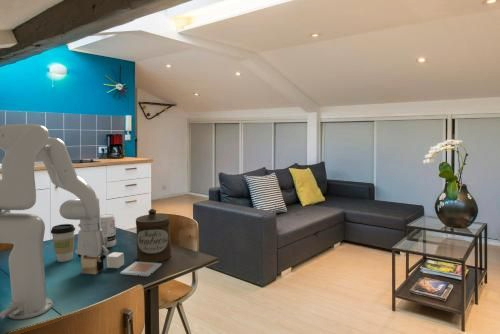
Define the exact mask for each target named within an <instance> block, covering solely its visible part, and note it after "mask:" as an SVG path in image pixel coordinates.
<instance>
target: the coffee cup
mask: <svg viewBox="0 0 500 334" xmlns="http://www.w3.org/2000/svg"><path fill="white" fill-rule="evenodd" d="M75 231H76V227H75V226H74V224H73V223H71V224H70V223H62V224H57V225H53V226H52V227H51V229H50V233H51V236H52V243H53V248H54V252H55V255H56V261H57V262H68V261H71V260H73V259H74V258H73V256H74V251H75V250H74V246H75Z"/></svg>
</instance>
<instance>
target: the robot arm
mask: <svg viewBox="0 0 500 334" xmlns="http://www.w3.org/2000/svg"><path fill="white" fill-rule="evenodd" d="M0 150H2V151H3V152H5V154H4V157H3V158H2V162H1V178H0V244H11V245H13V247H12V249H11V251H10V254H9V256H8V269H9V280H10V291H11V301H10V302H8V303H9V306H8V307H7V308H6V309H4V310H2V311H0V318H1V319H5V318H7V317H8V318H10V319H13V320H26V319H30V318H31V319H32V318H34V317H39V316H40V315H43V314H45V313H47V312H48V311H49V310H50V309H51V308H52V307H53V301H52V299H50V298H48V297H47V288H46V275H45V274H46V273H45V261H44V260H45V259H44V240H45V239H44V238H45V233H46V231H45V230H46V224H45V222H44V220H43V219H42V218H41V217H40V216H38V215H35V214H33V213H20V212H15V213H14V212H11V211H25V210H29V209H31V208H33V207H34V206H35V204H36V202H37V190H36V180H35V179H36V177H35V162H42V163H43V165H44V167H45V169H46V172H47V173H48V176H49V178H50V181H51V183H52V184H53V185H55V186H56V187H58V188H60V189H62V190H65V191H66V192H69V193H71V194H73V195H75V197H76V198H77V199H67V200H65V201H63V202H62V204H60V206H59V209H58V210H59V214H60V216H61V217H62V218H63V219H66V220H74V221H75V220H76V221H78V220H79V223H78V225H77V226H78V227H79V228H80V230H79V231H78V234H77V247H76V248H75V250H74V253H75V254H76V255H77V257H79V258H80V261H81V259H82V258H84V257H86V256H96V257H97V259H98V262H97V269H98V271H100V272H101V271H103V270H104V269H105V262H104V263H103V260H105V259H107V256H108V255H109V254H111V252H110V250H109V249H108V248H106V247H105V240H104V235H103V231H102V229H101V224H100V215H101V209H100V208H101V207H100V198H99V197H98V196H97V195H96V192H95V190H94V189H93V187H92V186H91V185H90V184H89V183H87V182H86V180H84V179H83V178H82V177H81V176H80V175H78V174H77V172H76V169H75V167H74V165H73V161H72V158H71V155H70V154H69V150H68V148H67V145H66V143H65V142H64V141H63V140H62V139H60V138H58V137H50V132H49V130H48V128H47V127H45V126H44V125H41V124H37V123H24V124H22V123H21V124H19V123H17V124H16V123H15V124H12V123H11V124H2V125H1V126H0ZM100 257H101V258H100ZM103 268H104V269H103ZM102 269H103V270H102Z"/></svg>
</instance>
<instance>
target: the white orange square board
mask: <svg viewBox="0 0 500 334" xmlns="http://www.w3.org/2000/svg"><path fill="white" fill-rule="evenodd" d="M162 264H163V263H162V262H161V263H159V262H142V261H134V262H133V263H131V264H130V265H129V266H127V267H126V268H124V269H123V270H122V271H120V275H128V276H138V275H139V277H140V276H141V277H149V276H151V275H152V274H153V273H154V272H155V271H156V270H158V269H159V268H160V267H162V266H163V265H162ZM151 273H152V274H151Z"/></svg>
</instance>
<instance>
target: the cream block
mask: <svg viewBox="0 0 500 334" xmlns="http://www.w3.org/2000/svg"><path fill="white" fill-rule="evenodd" d="M123 265H125V253H124V252H117V251H114V252H110V254H109V255H108V256H107V257H106V268H107V269H108V268H110V269H119V268H121V267H122V266H123Z"/></svg>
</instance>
